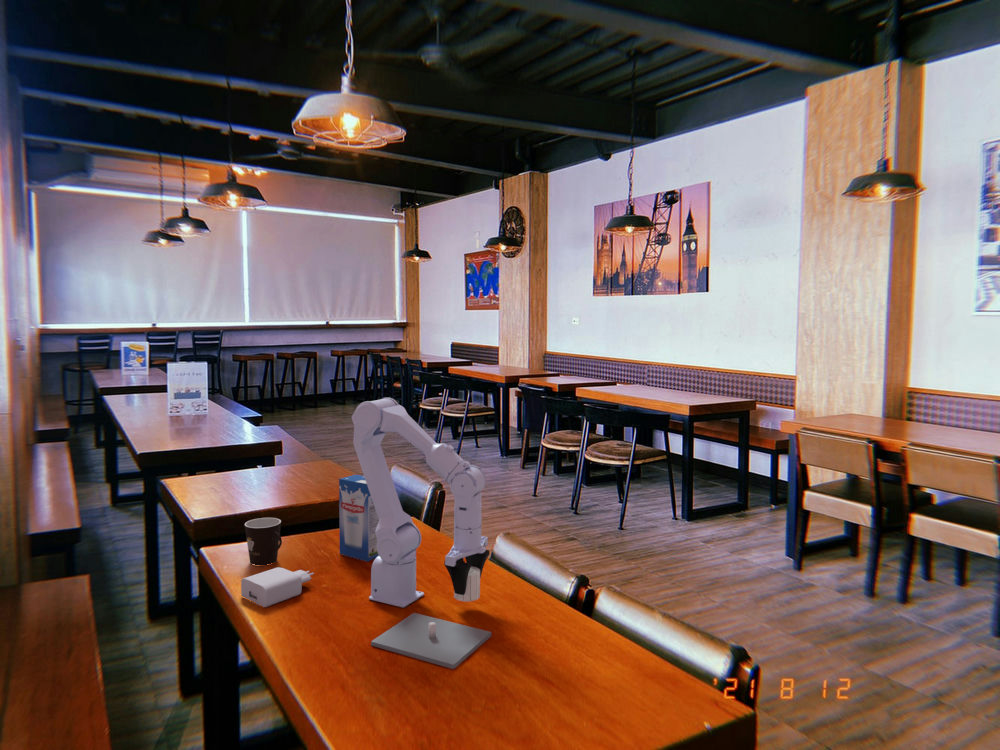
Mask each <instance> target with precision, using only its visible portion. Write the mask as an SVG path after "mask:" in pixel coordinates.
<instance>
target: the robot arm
mask: <svg viewBox="0 0 1000 750" xmlns="http://www.w3.org/2000/svg"><path fill="white" fill-rule="evenodd" d="M351 420H352V423H353V439H352V440H353V447H354V449H355V452H356V456H357V459H358V461H359V465H360V468H361V471H362V473H363V476H364V477H365V480H366V483H367V486H368V489H369V492H370V495H371V498H372V501H373V504H374V507H375V510H376V513H377V516H378V518H379V522H378V525H377V528H376V531H375V534H376V537H377V552H378V554H379V556H378V557H377V558H375V559H373V562H372V564H371V568H370V596H368V599H369V600H371V601H375V602H379V603H383V604H387V605H391V606H395V607H399V608H406V607H407V606H409V605H410V604H413V602H415V601H417V600H419V598H421V597H423V596H424V595H425V593H424V592H423V591H418V590H417V549H418V548H419V547H420V545H421V542H422V535H421V534H422V533H421V531H420V529H419V528H418V526H416V524H415V523H414V522H413V519H412V517H411V515H409V514H408V513H406V512H405V511H404V510H403V507H402V504H401V502H400V499H399V496H398V491H397V490H396V486H395V484H394V481H393V478H392V475H391V472H390V469H389V466H388V463H387V460H386V457H385V454H384V452H383V449H382V445H381V444H382V441H383V439H384V437H385V436H386V435H387V433H397V434H398V435H400V436H401V437H402V438H403V439H405V440H406V441H408V442H409V443H410V444H412V446H414V447H415V448H416V449H417V450H419V451H420V452H421V453H422V454H423V455H425V463H426V464H427V465H428V466H429V467H430V468H431V469H432V470H433V471H434V472H435V473H436V474H438V475H439V476H440V477H441V478H442V479H443V480H444V481H445V482H446V483H448V485H449V490H450V492H451V494H452V496H453V497H454V508H453V509H454V511H453V512H454V513H453V517H454V518H453V519H454V521H453V545H452V546H451V549H450V550H449V552H448V553H447V554H446V555H445V557H444V558H445V559H444V565H443V566H445V568H446V570H447V571H448V574H449V576H450V578H451V583H452V587H453V593H454V592H455V593H456V594H460V595H464V594H465V591H466V585H467V577H468V573H469V570H470V568H471V566H473V567H477V568H479V569H480V579H481V577H482V573H483V569H484V566H485V564H486V562H487V559H488V557H489V556H490V550H489V549H487V548H486V547H487V546H488V545H489V537H488V536H485V535H484V536H483V535H482V516H483V515H482V506H483V503H482V498H483V497H482V495H483V493H482V490H484V488H485V486H486V484H487V477H486V474H485V473H484V471H483V470H482V469H481V467H479V466H477V465H471V463H470V462H469V461H468V460H464V459H463V458H462V457H461V456H460V455H459V454H458V453H457V452H455V447H453V445H451V444H446V443H444V442H442V443H438V442H436V441H435V440H434V439H433V438H432V437H431V436H430V434H429V433H427V432H426V431H425V430H424V429H423V428H422V427H421V426H420V425H419V424H418V423H417V422H416V421H415V419H413V417H411V416H410V415H409V414H408V412H407V410H406V408H405V407H404V406H403V405H400V404H399V403H398V402H397V401H396V400H395V399H394V398H391V397H382V398H381V399H377V400H371V401H370V400H369V401H368V400H367V401H363V402H361V403H360V404H358V405H357V406H356V408H355V410H354V412H353V414H352V415H351ZM464 559H465V560H464Z"/></svg>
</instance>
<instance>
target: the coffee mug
mask: <svg viewBox="0 0 1000 750" xmlns="http://www.w3.org/2000/svg"><path fill="white" fill-rule="evenodd" d="M281 525H282V519H279V518H277V517H261V518H254V519H250V520H248V521H246V522H245V523H244V530H245V537H246V543H247V550H248V556H249V557H248V558H249V564H250V563H252V564H255V565H267V564H271V563H274V562H275V563H277V561H278V556H279V555H278V554H279V549H280V548H281V546H282V544H283V540H282V536H281ZM275 563H274V564H275ZM271 565H272V564H271ZM267 566H268V565H267Z"/></svg>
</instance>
